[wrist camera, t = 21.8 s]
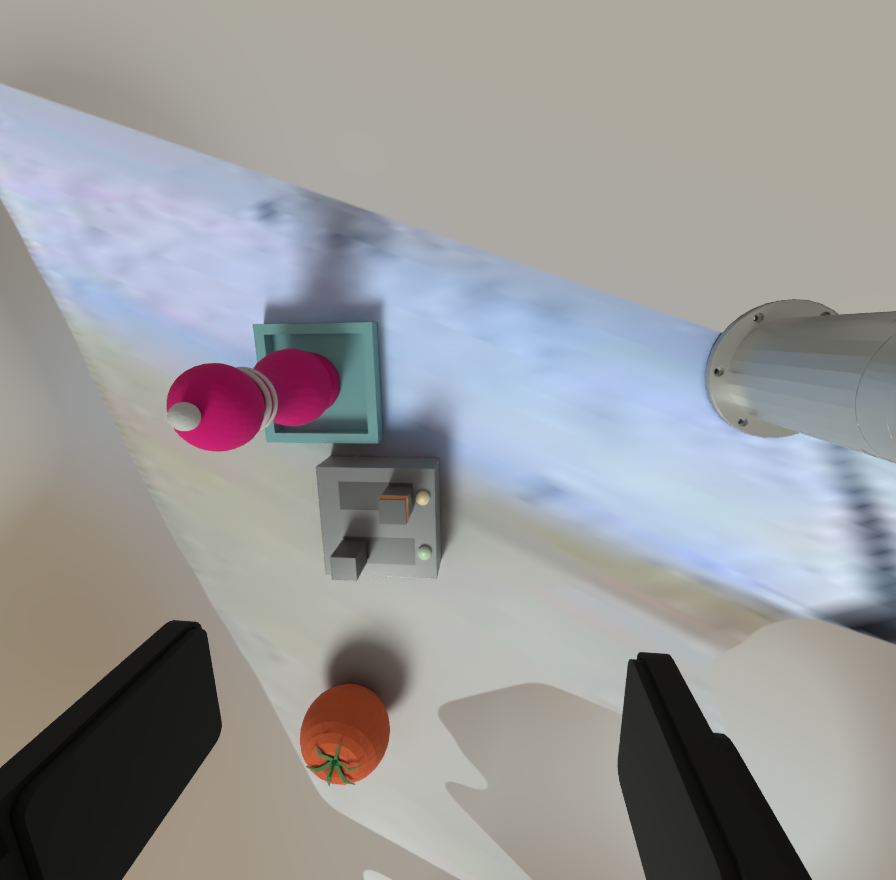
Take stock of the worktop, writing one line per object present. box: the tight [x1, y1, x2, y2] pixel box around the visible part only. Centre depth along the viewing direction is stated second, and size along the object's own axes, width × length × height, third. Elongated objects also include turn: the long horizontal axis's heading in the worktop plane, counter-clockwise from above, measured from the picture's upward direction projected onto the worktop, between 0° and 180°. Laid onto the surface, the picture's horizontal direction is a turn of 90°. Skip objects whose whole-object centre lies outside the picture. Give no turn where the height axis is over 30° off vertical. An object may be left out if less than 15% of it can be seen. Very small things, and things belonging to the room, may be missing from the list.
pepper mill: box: [167, 348, 340, 451], centre depth 35 cm, size 7×7×20 cm
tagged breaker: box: [378, 486, 413, 525], centre depth 41 cm, size 3×2×4 cm
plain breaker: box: [330, 540, 367, 581], centre depth 43 cm, size 2×2×4 cm
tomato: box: [300, 684, 390, 785], centre depth 50 cm, size 10×10×10 cm
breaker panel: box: [316, 456, 441, 579], centre depth 46 cm, size 12×12×4 cm
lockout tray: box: [253, 322, 383, 443], centre depth 44 cm, size 12×12×2 cm
